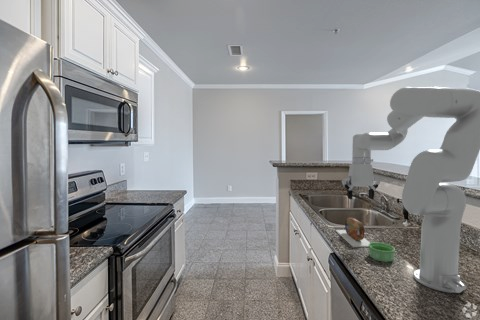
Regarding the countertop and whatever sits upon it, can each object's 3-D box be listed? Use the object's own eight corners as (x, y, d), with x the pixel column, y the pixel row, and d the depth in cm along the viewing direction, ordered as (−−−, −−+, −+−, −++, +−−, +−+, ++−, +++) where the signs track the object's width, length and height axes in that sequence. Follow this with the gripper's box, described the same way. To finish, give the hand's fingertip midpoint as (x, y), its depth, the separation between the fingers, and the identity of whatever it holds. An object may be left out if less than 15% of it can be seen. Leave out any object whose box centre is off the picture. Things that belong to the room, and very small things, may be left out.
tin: (344, 231, 126) (344, 215, 126) (350, 231, 126) (351, 215, 126) (358, 243, 111) (358, 224, 111) (365, 243, 111) (366, 224, 111)
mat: (374, 247, 109) (374, 245, 109) (353, 246, 109) (353, 245, 109) (353, 231, 129) (353, 230, 129) (335, 231, 129) (335, 230, 129)
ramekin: (399, 263, 94) (400, 251, 94) (374, 262, 95) (374, 250, 95) (387, 253, 103) (387, 242, 103) (364, 252, 104) (364, 241, 104)
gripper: (375, 161, 120) (374, 197, 121) (339, 161, 120) (338, 197, 120) (384, 161, 112) (384, 200, 113) (345, 161, 112) (345, 200, 113)
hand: (360, 198), depth 117 cm, fingers open, 9 cm apart
